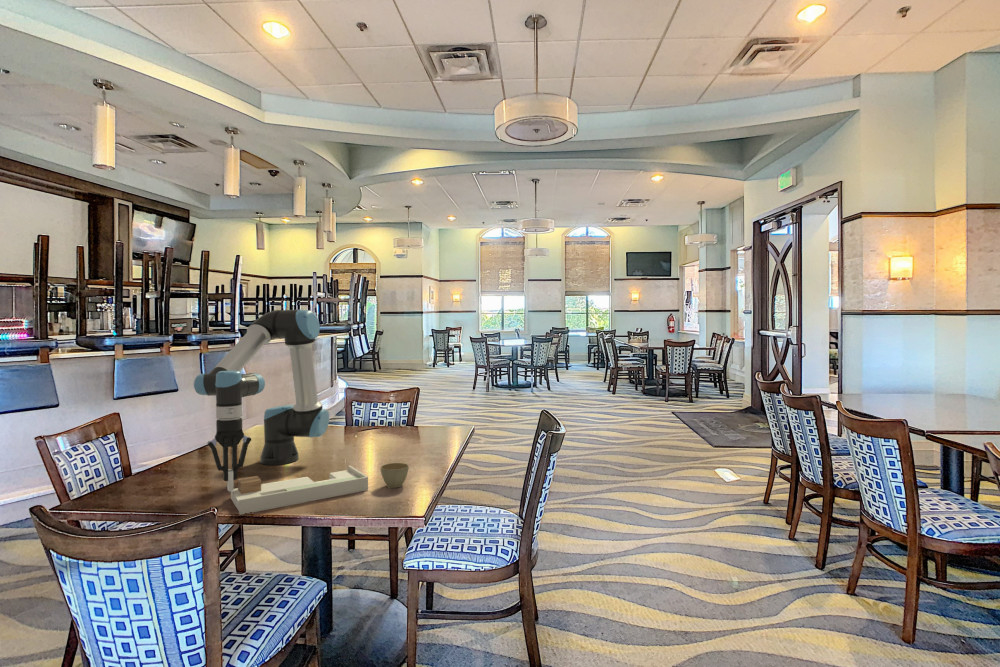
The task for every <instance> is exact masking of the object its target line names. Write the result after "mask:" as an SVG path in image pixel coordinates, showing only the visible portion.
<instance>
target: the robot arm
mask: <svg viewBox="0 0 1000 667" xmlns="http://www.w3.org/2000/svg"><path fill="white" fill-rule="evenodd" d="M320 327H321V326H320V321H319V318H318V317H317V315H316V314H315V313H314V312H313V311H311V310H309V309H308V310H307V309H282V310H281V309H275V310H272V311H269V312H266V313H265V314H262V315H261V316H259V317H258V318H257V319H256V320H254V321H253V322H252V323H251V324H250V325H249V326H248V327H247V328H246V333H245V334H244V335H243V336H242V337H241V338H240V339H239V341H238V342H237V343H236V344H235V345H234V346H233V347H232V348H231V349H230V350H229V351H228V352H227V354H226V355H224V357H222V359H220V361H219V362H218V363H217V364H216V365H215V366H214V368H212V369H211V371H209V373H206V372H205V373H199V374H198V375H197V376H195V379H194V382H193V388H194V389H193V390H194V391H195V392H196V393H197V394H198V395H201V396H213V397H214V396H215V398H216V399H215V400H216V402H215V403H216V404H215V414H216V415H215V416H216V417H215V418H216V421H215V422H216V423H215V424H216V427H215V429H216V433H215V435H214V438H213V439H211V440H208V441H207V445H208V447H209V448H210V449H211V453H212V456H213V460H214V462H215V466H216V469H217V470H218V471H221V472H222V473H223V481H224V482H227V483H226V489H227V491H228V492H229V493H231V491H234V489H235V487H234V481H235V480H236V481H237V480H238V470H239V469H240V468H243V467H244V464H245V459H246V455H247V451H248V448H249V445H250V443H251V441H252V438H251V437H250V436H247V435H245V433H244V430H243V419H242V416H243V409H242V408H243V404H242V403H243V398H246V397H250V396H255V395H258V394H260V393H262V392H263V391H264V390H265V386H266V380H265V378H264V377H263V376H262V375H261V374H260V373H256V372H249V373H242V370H243V369H244V368H245V366H246V365H247V364H248V363H249V362H250V361H251V360H252V359H253V357H254V356H255V355H256V354H257V353H258V352H259V351H260V349H261V348H263V346H265V345H267V344H269V343H270V342H271V341H272V340H277V339H282V340H283V339H284V345H285V346H286V347H288V348H289V354H290V362H291V364H290V365H291V370H292V379H293V387H294V388H293V389H294V394H295V395H294V396H295V404H285V405H279V406H273V407H269V408H266V410H265V411H264V415H263V429H264V431H263V432H264V434H263V435H264V438H263V439H264V444H263V448H262V450H261V453H260V457H259V463H260V464H262V465H266V466H267V465H268V466H277V465H287V464H290V463H294V462H297V461H298V460H299V452H298V448H297V446H296V443H295V438H297V437H299V438H317V437H318V438H319V437H322V436H323V435H324V434H325V433H326V431H327V429H328V426H329V422H330V413H329V411H328V410H327V409H325V408H323V403H322V402H321V401H320V400H319V399H318V391H317V381H316V372H315V364H314V356H313V355H314V353H313V345H314V344H315V342H316V339H317V338H318V337H319V336H320V331H321V328H320ZM240 442H242V446H241V450H240V453H239V454H240V455H239V459H238V445H239V444H240ZM217 443H218V444H219V445H220V447H222V462H221V460H220V457H219V453H218V450H217V448H216V446H217V445H218V444H217ZM229 448H231V468H229ZM221 463H222V464H221Z"/></svg>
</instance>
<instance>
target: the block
mask: <svg viewBox="0 0 1000 667" xmlns="http://www.w3.org/2000/svg"><path fill="white" fill-rule="evenodd" d="M261 484H262V480H261V478H260V477H259V476H258V475H256V476H249V477H241V478H237V488H238V490H239V491H240V493H241V494H245V493H250V492H256V491H261Z"/></svg>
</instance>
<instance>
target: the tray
mask: <svg viewBox="0 0 1000 667" xmlns="http://www.w3.org/2000/svg"><path fill="white" fill-rule="evenodd" d="M368 490H369V476H368V475H366V474H364V473H363V472H362V471H360V470H358V469H356V468H355V467H353V466H352V465H347V469H345V470H339V471H334V472H329V479H325V480H319V481H318V480H317V481H314V480H312V479H311V478H310V477H308V476H303V477H297V478H290V479H284V480H279V481H274V482H267V483H261V491H256V492H250V493H245V494H241V493H240V491H239V490H238V487H236V488H234V491H230V499H231V501H232V503H233V505H234V506H235V507H236V509H237V510H238V515H239V516H240V515H246V514H245V513H247V514H250V512H252V513H256V512H262V511H267V510H271V509H277V508H283V507H287V506H288V507H289V506H292V505H297V504H298V505H299V504H303V503H308V502H313V501H317V500H318V501H319V500H324V499H329V498H333V497H340V496H344V495H350V494H354V493H360V492H365V491H368Z"/></svg>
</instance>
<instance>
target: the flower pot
mask: <svg viewBox="0 0 1000 667" xmlns="http://www.w3.org/2000/svg"><path fill="white" fill-rule="evenodd" d="M409 467H410V465H409V464H407V463H404V462H391V463H386V464H383V465H380V473H381V478H382V479H383V481H384V483H385V485H386V486H387V488H389V489H396V488H397V487H398V488H401V487H402V486H403V485H404V483H405V480H406V479H407V477H408V473H409Z"/></svg>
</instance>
